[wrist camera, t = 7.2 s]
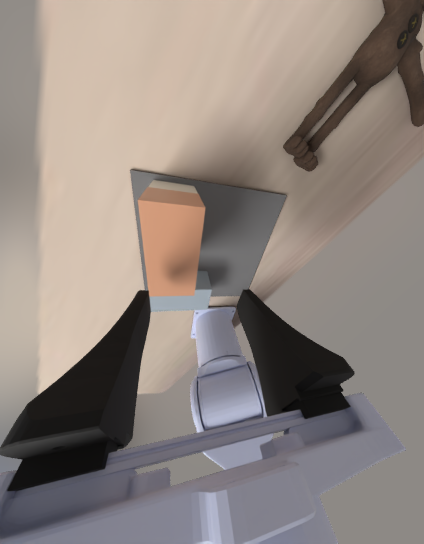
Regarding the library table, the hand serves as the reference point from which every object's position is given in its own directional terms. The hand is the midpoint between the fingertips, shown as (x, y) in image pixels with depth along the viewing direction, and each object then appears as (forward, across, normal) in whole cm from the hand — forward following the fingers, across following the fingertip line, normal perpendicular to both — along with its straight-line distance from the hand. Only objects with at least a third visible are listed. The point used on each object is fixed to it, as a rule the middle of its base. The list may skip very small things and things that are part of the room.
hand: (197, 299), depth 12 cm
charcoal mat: (+10, -2, +2) cm, 11 cm away
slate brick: (+10, +1, +7) cm, 12 cm away
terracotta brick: (+6, +2, -2) cm, 7 cm away
